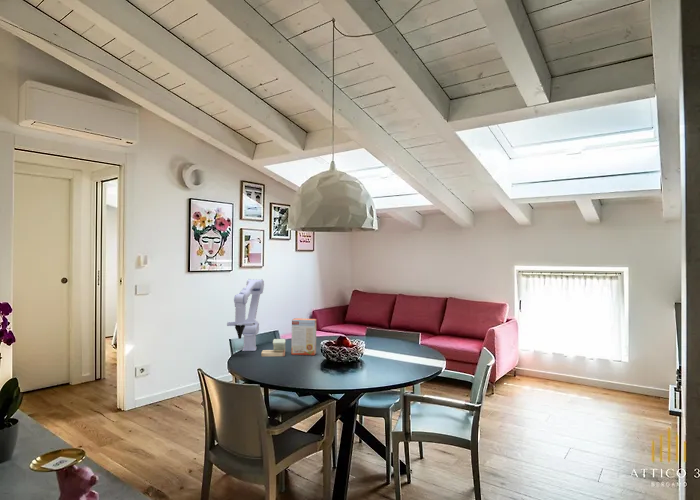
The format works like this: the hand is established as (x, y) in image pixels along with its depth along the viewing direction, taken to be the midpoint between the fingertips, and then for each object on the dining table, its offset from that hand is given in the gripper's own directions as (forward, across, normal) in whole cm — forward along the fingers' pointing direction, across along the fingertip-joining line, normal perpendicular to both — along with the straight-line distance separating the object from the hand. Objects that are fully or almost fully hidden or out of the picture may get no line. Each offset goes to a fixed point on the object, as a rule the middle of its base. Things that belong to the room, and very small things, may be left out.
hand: (239, 338), depth 251 cm
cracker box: (+10, +37, +3) cm, 38 cm away
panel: (+10, +19, +2) cm, 21 cm away
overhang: (+10, +22, +2) cm, 25 cm away
